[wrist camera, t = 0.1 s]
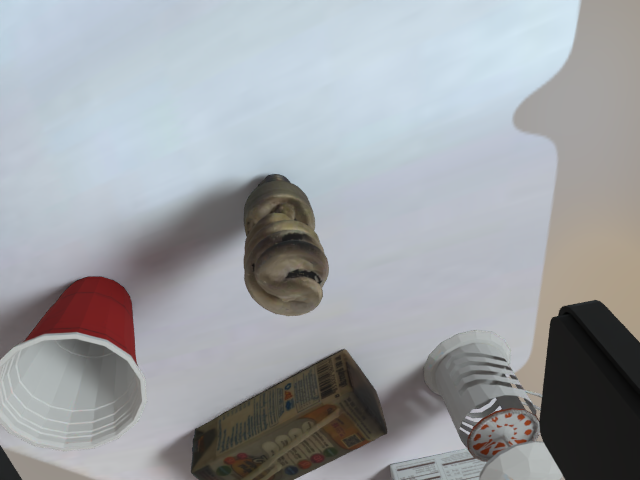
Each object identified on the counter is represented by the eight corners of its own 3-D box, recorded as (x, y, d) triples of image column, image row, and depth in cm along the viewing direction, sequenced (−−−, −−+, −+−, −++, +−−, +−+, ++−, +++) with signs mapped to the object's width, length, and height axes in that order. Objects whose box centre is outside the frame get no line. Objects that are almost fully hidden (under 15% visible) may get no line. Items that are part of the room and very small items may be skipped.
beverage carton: (189, 426, 61) (185, 479, 55) (344, 341, 58) (357, 389, 52) (232, 464, 65) (233, 518, 59) (379, 387, 62) (395, 435, 56)
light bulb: (306, 214, 50) (334, 323, 37) (243, 220, 49) (249, 332, 36) (303, 153, 47) (333, 248, 34) (236, 158, 46) (240, 258, 33)
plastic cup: (185, 285, 51) (175, 380, 41) (124, 363, 55) (101, 468, 45) (69, 226, 47) (26, 317, 37) (12, 315, 51) (-42, 420, 40)
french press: (429, 332, 59) (545, 579, 37) (535, 326, 60) (705, 558, 39) (417, 402, 64) (514, 654, 42) (516, 394, 65) (656, 633, 44)
